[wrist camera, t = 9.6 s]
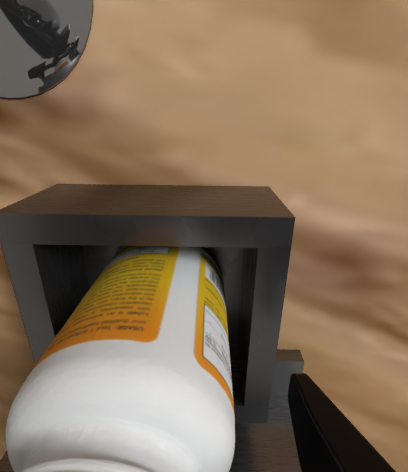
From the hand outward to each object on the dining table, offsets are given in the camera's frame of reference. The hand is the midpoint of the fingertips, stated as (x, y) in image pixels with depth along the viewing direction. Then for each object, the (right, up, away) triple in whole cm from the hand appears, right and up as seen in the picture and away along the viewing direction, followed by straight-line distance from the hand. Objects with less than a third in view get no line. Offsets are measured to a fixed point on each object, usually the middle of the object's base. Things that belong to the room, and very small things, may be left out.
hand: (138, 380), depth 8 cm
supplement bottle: (0, +2, +5) cm, 5 cm away
